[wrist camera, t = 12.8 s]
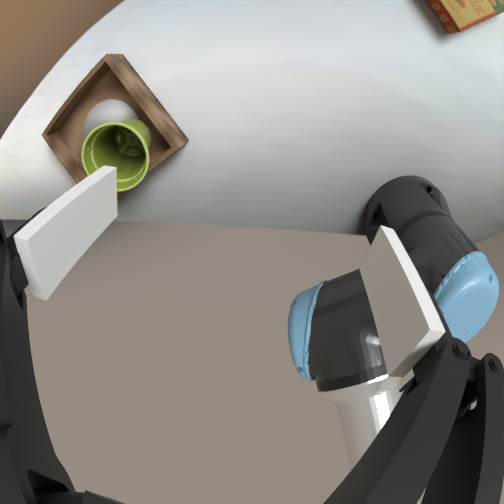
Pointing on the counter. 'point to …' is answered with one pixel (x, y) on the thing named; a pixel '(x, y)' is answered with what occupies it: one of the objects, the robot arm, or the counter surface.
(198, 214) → the counter surface
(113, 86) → the brown wooden square tray
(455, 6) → the carton
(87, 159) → the plant pot
